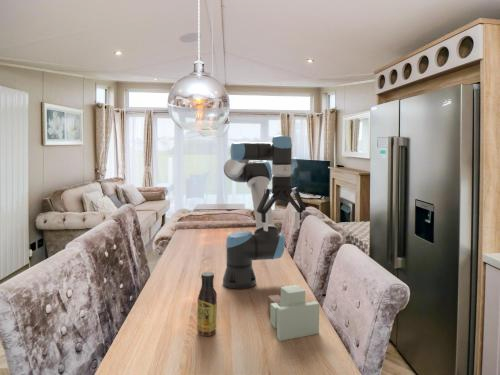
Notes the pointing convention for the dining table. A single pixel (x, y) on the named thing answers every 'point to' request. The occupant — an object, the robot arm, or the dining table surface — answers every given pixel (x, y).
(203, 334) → the sauce bottle
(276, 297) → the brown boxy piece
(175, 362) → the dining table surface
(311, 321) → the pale green block
